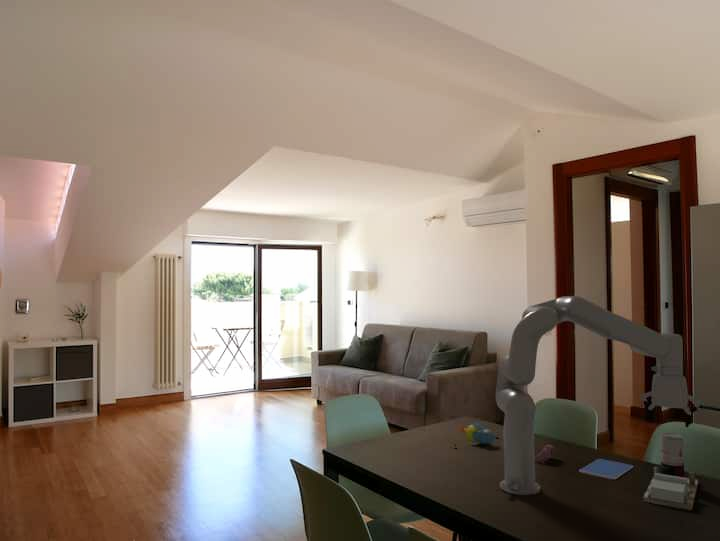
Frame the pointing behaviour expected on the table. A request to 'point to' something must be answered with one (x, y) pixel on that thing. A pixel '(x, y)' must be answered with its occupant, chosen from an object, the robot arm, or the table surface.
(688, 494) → the base board
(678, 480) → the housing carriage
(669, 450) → the beverage can
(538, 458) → the video game controller
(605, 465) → the tablet computer
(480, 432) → the owl figurine
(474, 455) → the table surface
